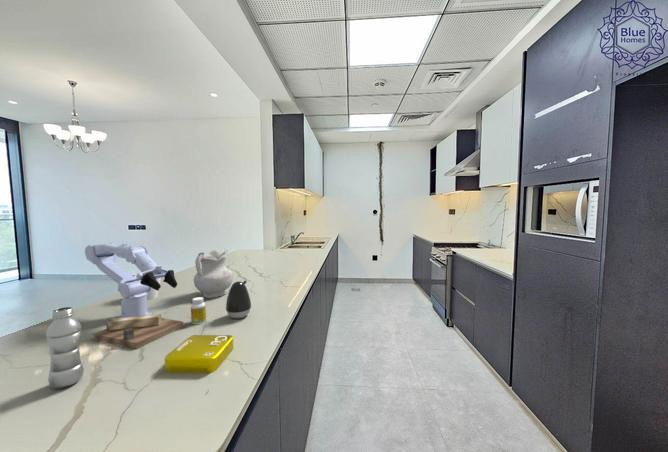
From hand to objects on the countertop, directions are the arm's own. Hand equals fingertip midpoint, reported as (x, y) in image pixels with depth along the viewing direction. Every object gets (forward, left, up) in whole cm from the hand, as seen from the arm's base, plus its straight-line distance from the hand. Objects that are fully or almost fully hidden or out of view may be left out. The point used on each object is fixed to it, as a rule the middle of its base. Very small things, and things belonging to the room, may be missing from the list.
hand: (167, 287), depth 107 cm
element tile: (+33, -16, -16) cm, 40 cm away
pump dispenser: (+22, +15, -15) cm, 31 cm away
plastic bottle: (+9, -37, -15) cm, 41 cm away
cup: (-40, +21, -15) cm, 48 cm away
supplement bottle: (+10, +5, -15) cm, 19 cm away
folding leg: (-6, -10, -13) cm, 17 cm away
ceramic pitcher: (-11, +35, -15) cm, 40 cm away
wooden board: (-3, -9, -15) cm, 18 cm away
